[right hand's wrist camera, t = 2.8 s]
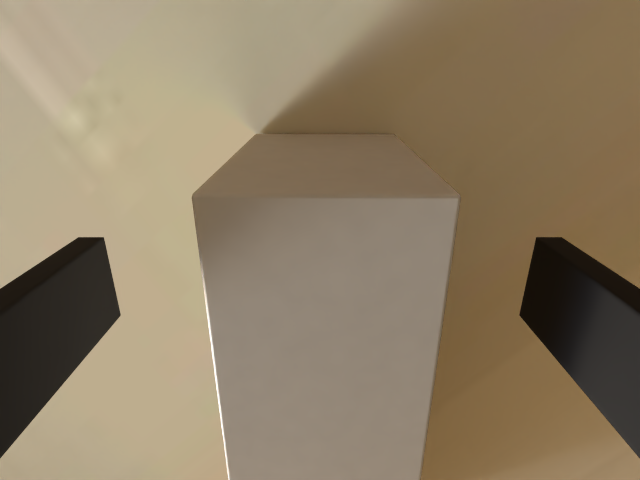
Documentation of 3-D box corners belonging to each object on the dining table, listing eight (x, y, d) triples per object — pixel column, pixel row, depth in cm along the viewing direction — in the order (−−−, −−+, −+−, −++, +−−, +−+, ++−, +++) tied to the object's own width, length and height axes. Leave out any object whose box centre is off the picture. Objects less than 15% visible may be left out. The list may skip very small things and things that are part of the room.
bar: (254, 133, 16) (189, 193, 8) (395, 133, 16) (462, 194, 8) (278, 511, 25) (257, 710, 17) (368, 512, 25) (388, 711, 17)
